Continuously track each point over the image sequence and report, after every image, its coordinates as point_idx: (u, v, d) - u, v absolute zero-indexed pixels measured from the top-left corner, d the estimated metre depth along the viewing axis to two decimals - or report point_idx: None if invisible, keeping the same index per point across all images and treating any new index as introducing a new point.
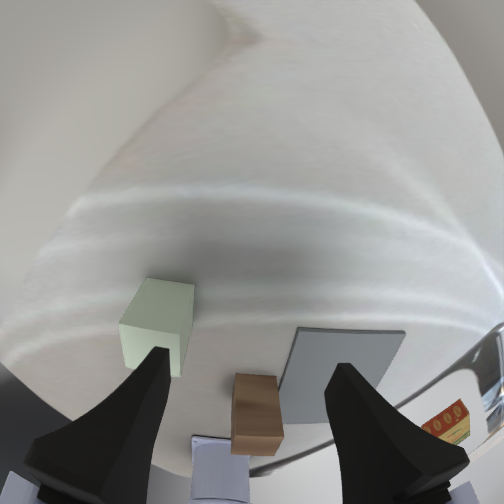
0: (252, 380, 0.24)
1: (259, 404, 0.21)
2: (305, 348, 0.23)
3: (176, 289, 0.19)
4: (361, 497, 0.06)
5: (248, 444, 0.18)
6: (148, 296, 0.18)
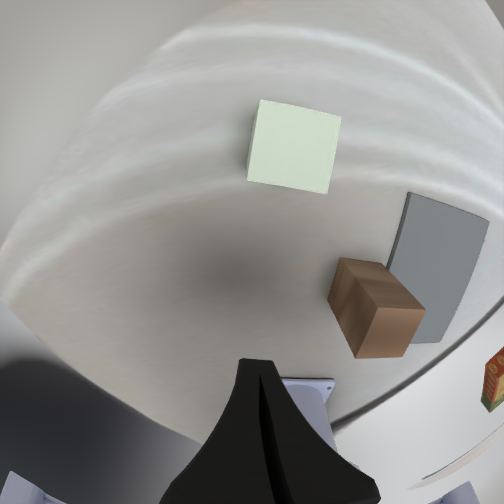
0: (361, 263, 0.20)
1: (382, 281, 0.17)
2: (415, 219, 0.19)
3: None
4: None
5: (385, 329, 0.15)
6: None
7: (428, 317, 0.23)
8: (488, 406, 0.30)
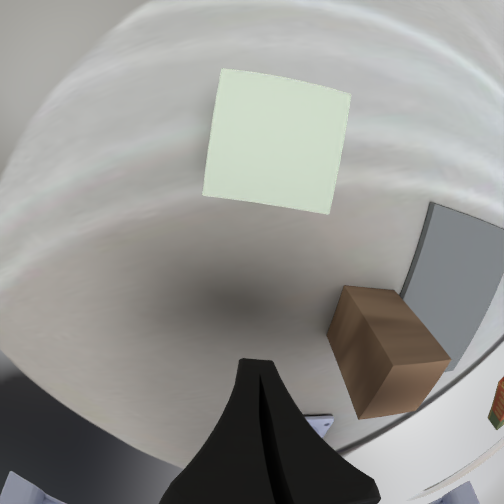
0: (370, 293, 0.15)
1: (397, 320, 0.13)
2: (437, 236, 0.14)
3: None
4: None
5: (399, 387, 0.10)
6: None
7: (443, 346, 0.18)
8: (496, 424, 0.25)
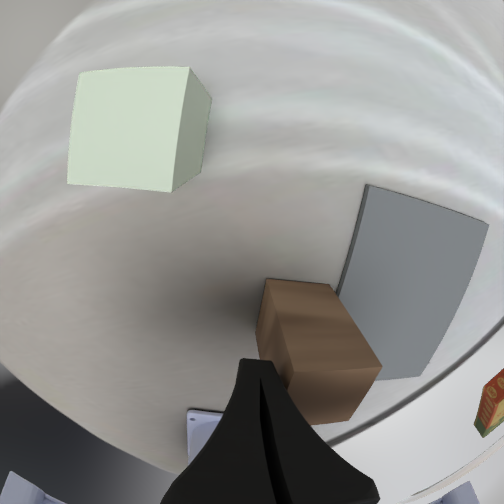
0: (295, 287, 0.15)
1: (320, 318, 0.12)
2: (377, 223, 0.14)
3: None
4: None
5: (313, 396, 0.10)
6: None
7: (401, 349, 0.18)
8: (482, 431, 0.25)
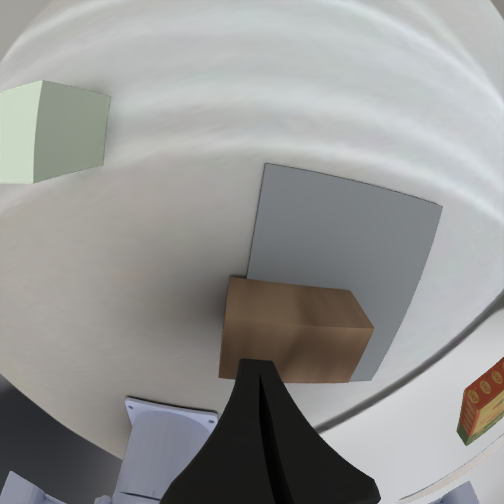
0: (244, 301, 0.13)
1: (300, 301, 0.14)
2: (279, 204, 0.14)
3: None
4: None
5: None
6: None
7: None
8: (465, 439, 0.24)
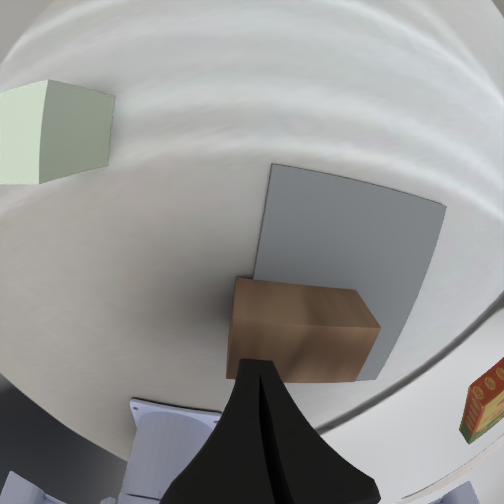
0: (251, 301, 0.13)
1: (307, 301, 0.14)
2: (286, 205, 0.14)
3: None
4: None
5: None
6: None
7: None
8: (467, 437, 0.24)
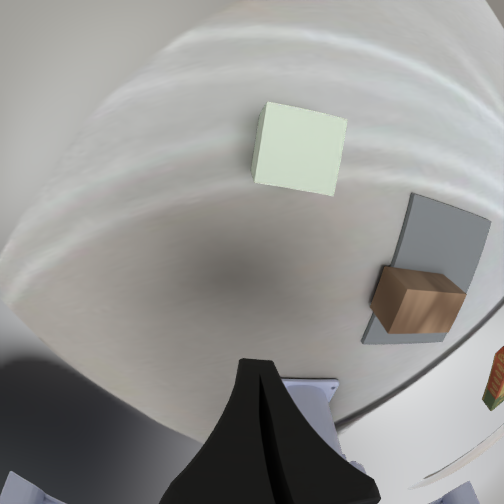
0: (405, 280, 0.18)
1: (427, 279, 0.19)
2: (418, 219, 0.19)
3: None
4: None
5: None
6: None
7: None
8: (491, 403, 0.29)
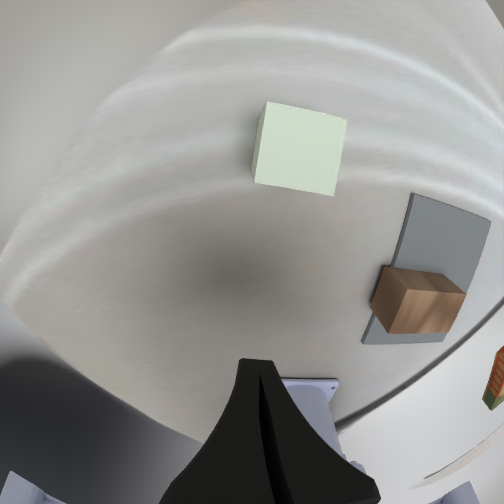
0: (405, 280, 0.18)
1: (427, 279, 0.19)
2: (418, 219, 0.19)
3: None
4: None
5: None
6: None
7: None
8: (491, 403, 0.29)
